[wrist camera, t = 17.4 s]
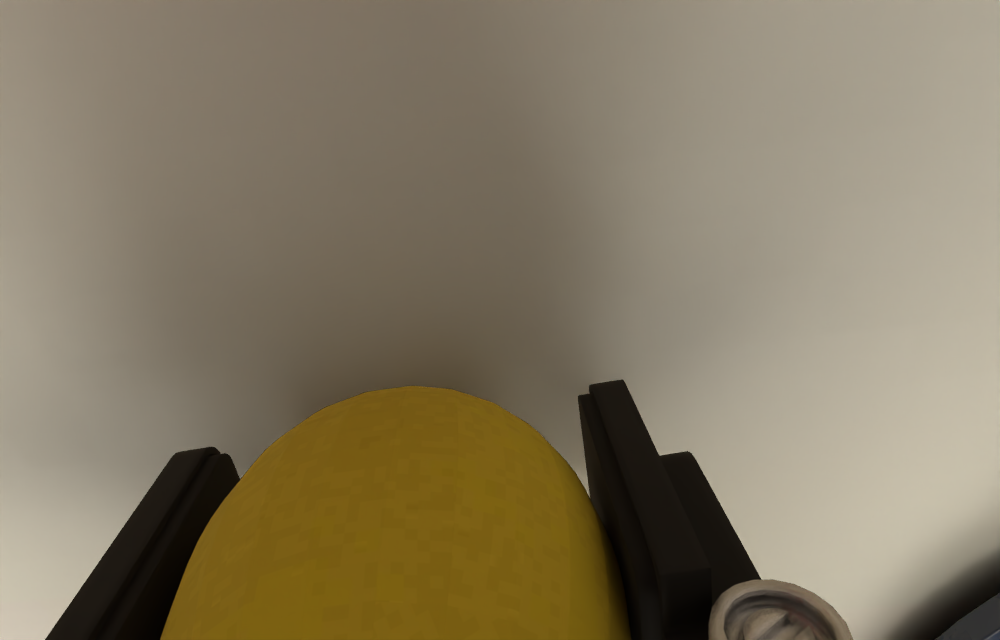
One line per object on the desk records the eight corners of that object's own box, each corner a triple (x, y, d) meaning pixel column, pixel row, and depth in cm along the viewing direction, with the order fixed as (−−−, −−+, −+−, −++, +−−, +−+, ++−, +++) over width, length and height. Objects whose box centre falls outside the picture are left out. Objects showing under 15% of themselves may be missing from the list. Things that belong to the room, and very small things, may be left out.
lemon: (529, 573, 13) (609, 1238, 6) (256, 530, 12) (-44, 1240, 5) (615, 340, 11) (906, 927, 4) (292, 269, 10) (-130, 844, 3)
